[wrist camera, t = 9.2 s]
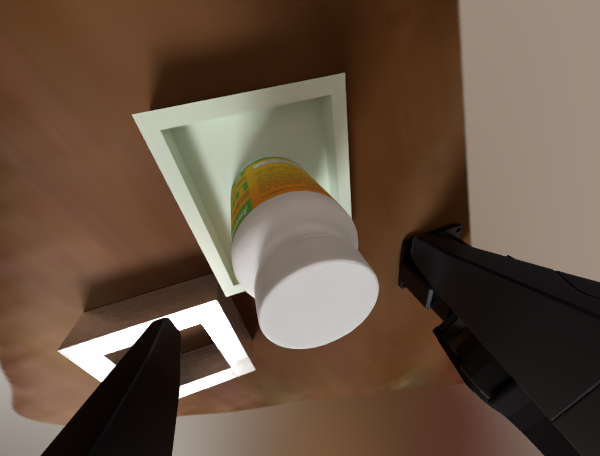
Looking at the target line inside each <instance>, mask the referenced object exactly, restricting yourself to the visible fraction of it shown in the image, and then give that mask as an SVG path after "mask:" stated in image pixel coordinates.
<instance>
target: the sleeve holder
mask: <svg viewBox="0 0 600 456" xmlns="http://www.w3.org/2000/svg"><path fill="white" fill-rule="evenodd" d="M163 317H168V318H170V320H171V321H172V322H173V323H174V325H175V326H176V327H177V328H178V330H182V329H185V328H188V327H191V326H194V325H197V324H200V323H202V325H203V326H204V328H205V329H206V331H207V332H208V333H209V335H210V336H211V338H212V339H213V341H214V342H215V343H213V344H210V345H207V346H204V347H201V348H198V349H195V350H192V351H190V352H187V353H184V354H181V373H180V392H179V398H181V397H184V396H187V395H189V394H192V393H195V392H198V391H200V390H203V389H206V388H208V387H211V386H214V385H216V384H219V383H222V382H225V381H227V380H230V379H233V378H235V377H238V376H241V375H244V374H246V373H249V372H252V371H254V370H256V369H255V358H254V347H253V340H252V338H251V336H250V334H249V332H248V330H247V328H246V326H245V324H244V322H243V320H242V318H241V316H240V314H239V312H238V310H237V308H236V306H235V304H234V302H233V300H232V298H231V296H228V297H226V296H225V294H224V292H223V290H222V288H221V286H220V284H219V282H218V280H217V278H216V276H215V274H214V273H212V274H209V275H205V276H202V277H199V278H196V279H192V280H189V281H186V282H182V283H179V284H176V285H172V286H169V287H166V288H162V289H159V290H156V291H152V292H149V293H146V294H143V295H139V296H136V297H133V298H129V299H126V300H123V301H119V302H116V303H113V304H109V305H106V306H103V307H100V308H96V309H93V310H90V311H86V312H83V314H82V315H81V316H80V318H79V319H78V321H77V322H76V324H75V325H74V327H73V328H72V330H71V331H70V333H69V334H68V336H67V337H66V339H65V340H64V342H63V343H62V345H61V346H60V347H59V349H58V350H57V351H58V352H60V353H61V354H62V355H64V356H65V357H67V358H68V359H70V360H71V361H72V362H74V363H75V364H77V365H78V366H79V367H81V368H82V369H84V370H85V371H87V372H88V373H89V374H91V375H92V376H94V377H95V378H96V379H98V380H99V381H101V382H102V381H103V380H104V379H105V378H106V376H107V375H108V374H109V373H110V372H111V370H112V369H113V368H114V367H115V366H116V364H117V363H118V362H119V361H120V360H121V358H122V357H123V356H124V355H125V354H126V352H127V351H128V350H129V349H130V348H131V346H132V345H133V344H134V343H135V342H136V340H137V339H138V338H139V337H140V336H141V334H142V333H143V332H144V331H145V330H146V328H147V327H148V326H149V325H150V324H151V323H152V322H153V321H154V320H157V319H160V318H163Z"/></svg>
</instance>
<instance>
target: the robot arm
mask: <svg viewBox="0 0 600 456" xmlns="http://www.w3.org/2000/svg"><path fill="white" fill-rule="evenodd" d="M462 230H463V226H462V225H460V224H454V225H451V226H448V227H445V228H442V229H439V230H435V231H432V232H429V233H426V234H422V235H419V236H416V237H414V238H410V239H407V240H405V241H404V243H403V245H402V254H401V263H400V272H399V282H398V285H399V286H400V287H401V288H402V289H403V288H406V287H407V288H408V290H409V291H410V292H411V293H412V294H413V295H414V296H415V297H416V298H417V299H418V300H419V301H420V303H421V304H422V305H423V306H424V307H425V308H427V309H430V308H431V309H432V310H433V311H434V312H435V313H436V314H437V315H438V316H439V317H440V318H441V319H442V320H443V322H442V323H441V324H440V325H439V326H436V327H435V328H434V329H433V333H434V334H435V336H436V337H437V339H438V341H439V343H440V344H441V346H442V348H443V349H444V351H445V352H446V354H447V355H448V357H449V359H450V360H451V362H452V363H453V365H454V366H455V368H456V369H457V371H458V373H459V374H460V376H461V377H462V379H463V380H464V382H465V383H466V385H467V386H468V387H469V388H470V389H471V390H472V391H473V392H474V393H475V394H477V395H478V396H479V397H480V398H481V399H482V400H483V401H484V402H486V403H487V404H488V405H489V406H491V407H492V408H494V409H495V410H497V411H498V412H500V413H501V414H502V415H504V416H505V417H506V418H507V419H508V420H509V421H511V422H512V423H513V424H514V425H515V426H516V427H517V428H518V429H519V430H520V431H521V432H522V433H523V434H524V435H525V436H526V437H527V438H528V439H529V440H530V441H531V442H532V443H533V444H534V445H535V446H536V447H537V448H538V449H539V450H540V451H541V452H542V454H543V455H544V456H600V282H597V281H593V280H589V279H586V278H582V277H578V276H574V275H571V274H567V273H564V272H560V271H554V270H552V269H549V268H546V267H542V266H538V265H535V264H531V263H527V262H524V261H520V260H517V259H514V258H512V257H511V256H509V255H507V256H502V255H499V254H495V253H492V252H488V251H484V250H480V249H477V248H474V247H472V246H470V245H468V244H467V243H465V242H464V241H462V240H460V237H461V234H462ZM180 373H181V334H180V331H179V330H178V328H177V327H176V326H175V325H174V323H173V322H172V321H171V320H170V318H168V317H163V318H160V319H157V320H154V321H153V322H152V323H151V324H150V325H149V326H148V327H147V328H146V330H145V331H144V332H143V333H142V334H141V336H140V337H139V338H138V339H137V340H136V342H135V343H134V344H133V345H132V346H131V348H130V349H129V350H128V351H127V352H126V354H125V355H124V356H123V357H122V358H121V360H120V361H119V362H118V363H117V364H116V366H115V367H114V368H113V369H112V370H111V372H110V373H109V374H108V375H107V376H106V378H105V379H104V380H103V381H102V382H101V384H100V385H99V386H98V387H97V388H96V390H95V391H94V392H93V393H92V394H91V396H90V397H89V398H88V399H87V400H86V402H85V403H84V404H83V405H82V406H81V408H80V409H79V410H78V411H77V412H76V414H75V415H74V416H73V417H72V419H71V420H70V421H69V422H68V423H67V425H66V426H65V427H64V428H63V429H62V431H61V432H60V433H59V434H58V435H57V437H56V438H55V439H54V440H53V441H52V443H51V444H50V445H49V446H48V447H47V448H46V450H45V451H44V452H43V453H42V455H41V456H172V450H173V441H174V433H175V425H176V417H177V409H178V401H179V392H180Z"/></svg>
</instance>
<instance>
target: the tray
mask: <svg viewBox="0 0 600 456" xmlns="http://www.w3.org/2000/svg"><path fill="white" fill-rule="evenodd" d="M132 116H133V118H134V120H135V122H136V124H137V126H138V128H139V130H140V131H141V133H142V135H143V137H144V139H145V141H146V143H147V145H148V147H149V149H150V151H151V153H152V155H153V157H154V159H155V160H156V162H157V164H158V166H159V168H160V170H161V172H162V174H163V176H164V178H165V180H166V182H167V184H168V186H169V187H170V189H171V191H172V193H173V195H174V197H175V199H176V201H177V203H178V205H179V207H180V209H181V211H182V213H183V215H184V216H185V218H186V220H187V222H188V224H189V226H190V228H191V230H192V232H193V234H194V236H195V238H196V240H197V242H198V243H199V245H200V247H201V249H202V251H203V253H204V255H205V257H206V259H207V261H208V263H209V265H210V267H211V269H212V271H213V272H214V274H215V276H216V278H217V280H218V282H219V284H220V286H221V288H222V290H223V292H224V294H225V296H226V297H228V296H231V295H234V294H237V293H241V292H244V291H245V290H244V289H243V288H242V286H241V285H240V284H239V282H238V280H237V278H236V276H235V273H234V270H233V265H232V258H231V205H230V196H231V188H232V184H233V182H234V179H235V177H236V176H237V174H238V173H239V171H240V170H241V169H242V168H243V167H244V166H245V165H247V164H248V163H250V162H251V161H253V160H255V159H258V158H261V157H265V156H281V157H285V158H288V159H290V160H292V161H294V162H296V163H297V164H298V165H300V166H301V167H302V168H303V169H304V170H305V171H306V172H307V173H308V174H309V175H310V176H311V177H312V178H313V179H314V180H315V181H316V182H317V183H318V184H319V185H320V186H321V187H323V188H324V190H325V191H327V192H328V193H329V194H330V195H331V196H332V197H333V198H334V199H335V200H336V201H337V202H338V203H339V204H340V205H341V206H342V207H343V208H344V210H345V211H346V212H347V213H348V214H349V216H350V217H351V219H352V216H351V194H350V172H349V150H348V127H347V105H346V83H345V73H341V74H336V75H331V76H326V77H321V78H315V79H310V80H305V81H300V82H295V83H290V84H285V85H280V86H275V87H270V88H265V89H260V90H255V91H250V92H244V93H239V94H234V95H229V96H224V97H219V98H214V99H209V100H204V101H199V102H194V103H189V104H184V105H178V106H173V107H168V108H163V109H158V110H153V111H148V112H143V113H138V114H133V115H132Z"/></svg>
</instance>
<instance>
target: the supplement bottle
mask: <svg viewBox="0 0 600 456" xmlns="http://www.w3.org/2000/svg"><path fill="white" fill-rule="evenodd" d="M230 205H231V258H232V265H233V270H234V273H235V276H236V278H237V280H238V282H239V284H240V285H241V286H242V288H243V289H244V290H245V291H246V292H247V293H248V294H250V295H251V296H252V297H254V298H255V303H256V310H257V316H258V322H259V326H260V328H261V330H262V332H263V334H264V335H265V336H266V337H267V338H268V339H269V340H270V341H272V342H273V343H275V344H277V345H280V346H282V347H286V348H293V349H305V348H313V347H317V346H321V345H325V344H328V343H330V342H332V341H335V340H337V339H339V338H341V337H343V336H344V335H346V334H348V333H349V332H351V331H352V330H353V329H355V328H356V327H357V326H358V325H359V324H361V323H362V322H363V321H364V320H365V318H366V317H367V316H368V315H369V313H370V312H371V310H372V309H373V307H374V305H375V303H376V300H377V297H378V292H379V284H378V280H377V277H376V275H375V273H374V271H373V269H372V268H371V267H370V266H369V264H368V263H367V262H366V260H365V259H364V258H363V256H362V255H361V253H360V252H359V251H358V236H357V231H356V227H355V225H354V223H353V221H352V219H351V217H350V216H349V214H348V213H347V212H346V211H345V210H344V208H343V207H342V206H341V205H340V204H339V203H338V202H337V201H336V200H335V199H334V198H333V197H332V196H331V195H330V194H329V193H328V192H327V191H325V190H324V188H323V187H321V186H320V185H319V184H318V183H317V182H316V181H315V180H314V179H313V178H312V177H311V176H310V175H309V174H308V173H307V172H306V171H305V170H304V169H303V168H302V167H301V166H300V165H298V164H297V163H296V162H294V161H292V160H290V159H288V158H285V157H281V156H265V157H261V158H258V159H255V160H253V161H251V162H250V163H248V164H247V165H245V166H244V167H243V168H242V169H241V170H240V171H239V173H238V174H237V176H236V177H235V179H234V182H233V184H232V188H231V196H230Z"/></svg>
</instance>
